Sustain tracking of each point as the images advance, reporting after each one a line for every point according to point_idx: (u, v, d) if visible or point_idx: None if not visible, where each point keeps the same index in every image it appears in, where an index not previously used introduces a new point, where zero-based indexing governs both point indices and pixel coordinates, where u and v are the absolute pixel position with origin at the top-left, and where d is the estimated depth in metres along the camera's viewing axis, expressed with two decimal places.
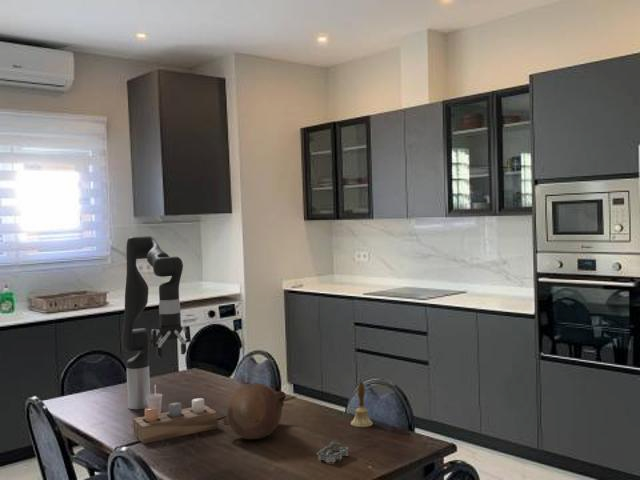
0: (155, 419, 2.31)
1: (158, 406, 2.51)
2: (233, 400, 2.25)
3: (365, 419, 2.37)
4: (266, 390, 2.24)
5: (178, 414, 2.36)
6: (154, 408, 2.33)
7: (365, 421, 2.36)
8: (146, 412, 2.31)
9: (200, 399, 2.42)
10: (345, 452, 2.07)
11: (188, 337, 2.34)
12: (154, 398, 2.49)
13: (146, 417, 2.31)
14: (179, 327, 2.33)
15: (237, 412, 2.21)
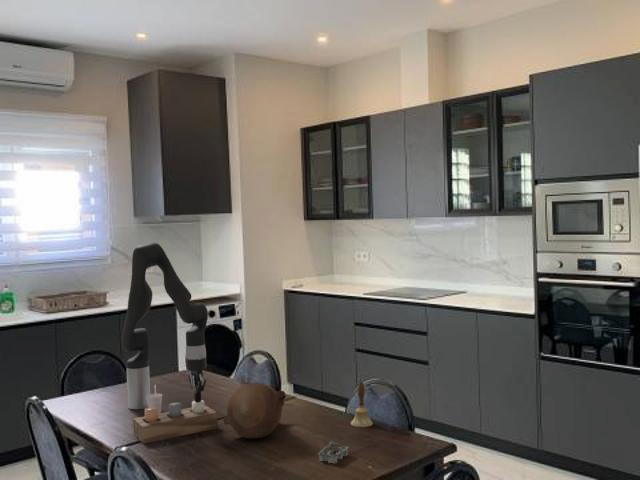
0: (155, 419, 2.31)
1: (158, 406, 2.51)
2: (233, 399, 2.26)
3: (365, 419, 2.37)
4: (266, 389, 2.25)
5: (178, 414, 2.36)
6: (154, 408, 2.33)
7: (365, 421, 2.36)
8: (146, 412, 2.31)
9: None
10: (345, 451, 2.07)
11: None
12: (154, 398, 2.49)
13: (146, 417, 2.31)
14: None
15: (237, 411, 2.22)
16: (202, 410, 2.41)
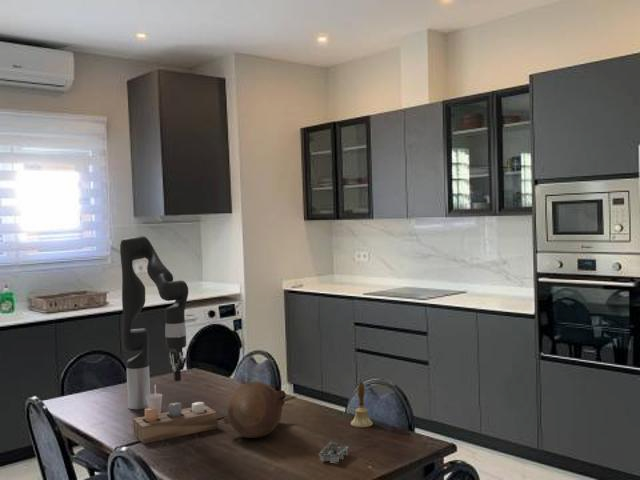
0: (155, 419, 2.31)
1: (158, 406, 2.51)
2: (233, 399, 2.26)
3: (365, 419, 2.37)
4: (266, 389, 2.25)
5: (178, 414, 2.36)
6: (154, 408, 2.33)
7: (365, 421, 2.36)
8: (146, 412, 2.31)
9: (200, 403, 2.42)
10: (345, 451, 2.07)
11: None
12: (154, 398, 2.49)
13: (146, 417, 2.31)
14: None
15: (237, 411, 2.22)
16: None
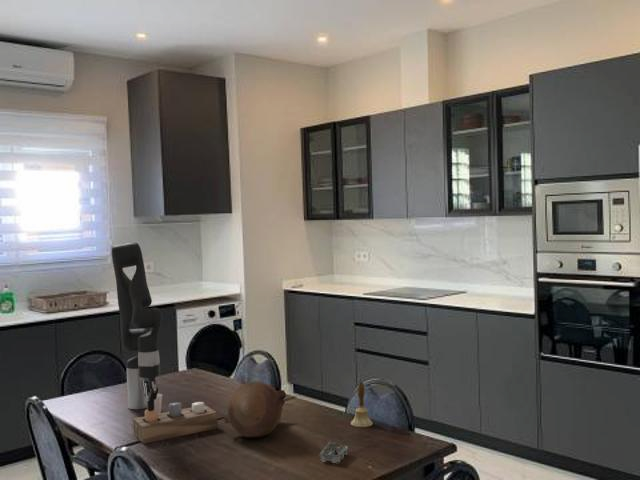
0: (155, 420, 2.31)
1: (158, 406, 2.51)
2: (233, 398, 2.27)
3: (365, 419, 2.37)
4: (266, 389, 2.26)
5: (178, 414, 2.36)
6: (154, 409, 2.33)
7: (365, 421, 2.36)
8: (146, 413, 2.31)
9: (200, 403, 2.42)
10: (345, 451, 2.08)
11: None
12: None
13: (146, 418, 2.31)
14: None
15: (238, 410, 2.23)
16: None
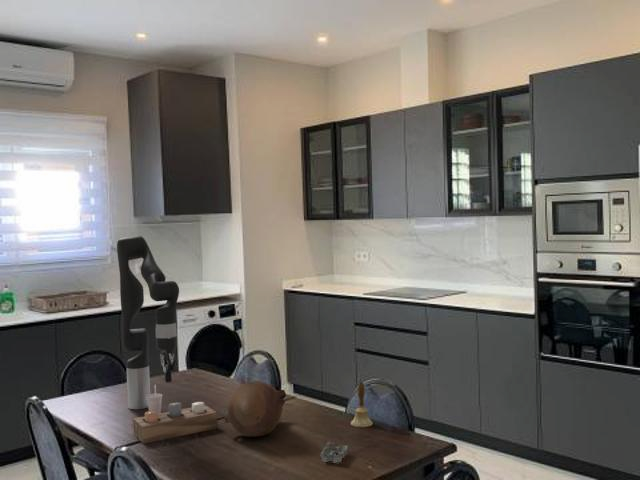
0: None
1: (158, 406, 2.51)
2: (234, 398, 2.27)
3: (365, 419, 2.37)
4: (266, 388, 2.26)
5: (178, 414, 2.36)
6: (155, 411, 2.33)
7: (365, 421, 2.36)
8: (146, 416, 2.31)
9: (200, 403, 2.42)
10: (345, 450, 2.08)
11: None
12: (154, 398, 2.49)
13: (146, 421, 2.31)
14: None
15: (238, 410, 2.23)
16: None
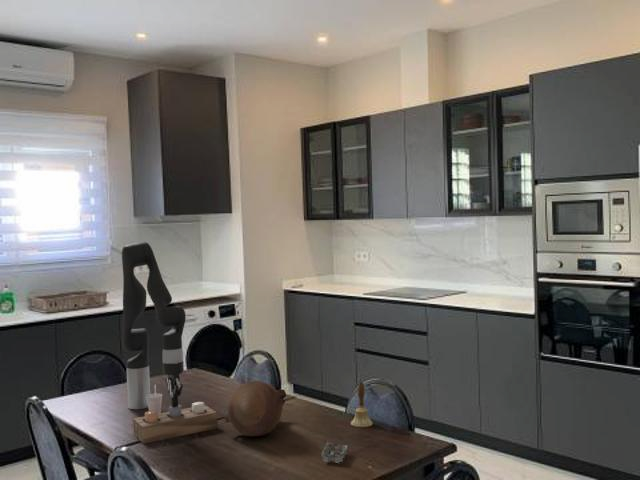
0: None
1: (158, 406, 2.51)
2: (234, 397, 2.28)
3: (365, 419, 2.37)
4: (267, 388, 2.27)
5: (178, 416, 2.36)
6: (155, 411, 2.33)
7: (365, 421, 2.36)
8: (146, 416, 2.31)
9: (200, 403, 2.42)
10: (344, 450, 2.08)
11: None
12: (154, 398, 2.49)
13: (146, 421, 2.31)
14: None
15: (238, 409, 2.24)
16: None
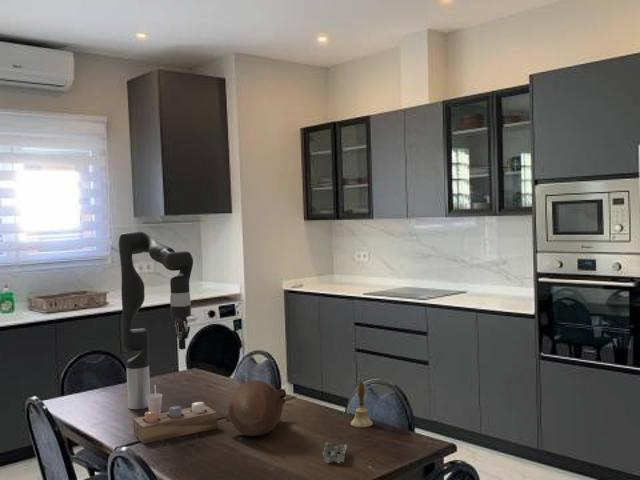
0: None
1: (158, 406, 2.51)
2: (234, 397, 2.29)
3: (365, 419, 2.37)
4: (267, 387, 2.27)
5: None
6: (155, 411, 2.33)
7: (365, 421, 2.36)
8: (146, 416, 2.31)
9: (200, 403, 2.42)
10: (344, 450, 2.09)
11: None
12: (154, 398, 2.49)
13: (146, 421, 2.31)
14: None
15: (238, 409, 2.24)
16: None
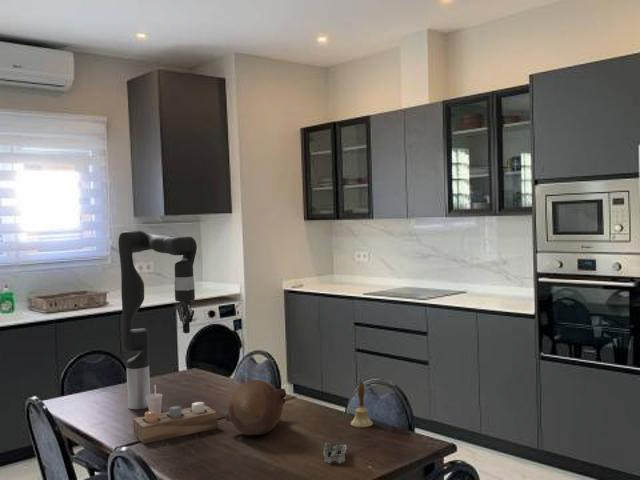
0: None
1: (158, 406, 2.51)
2: (234, 396, 2.29)
3: (365, 419, 2.37)
4: (267, 387, 2.28)
5: None
6: (155, 411, 2.33)
7: (365, 421, 2.36)
8: (146, 416, 2.31)
9: (200, 403, 2.42)
10: (343, 449, 2.09)
11: None
12: (154, 398, 2.49)
13: (146, 421, 2.31)
14: None
15: (238, 408, 2.25)
16: None
